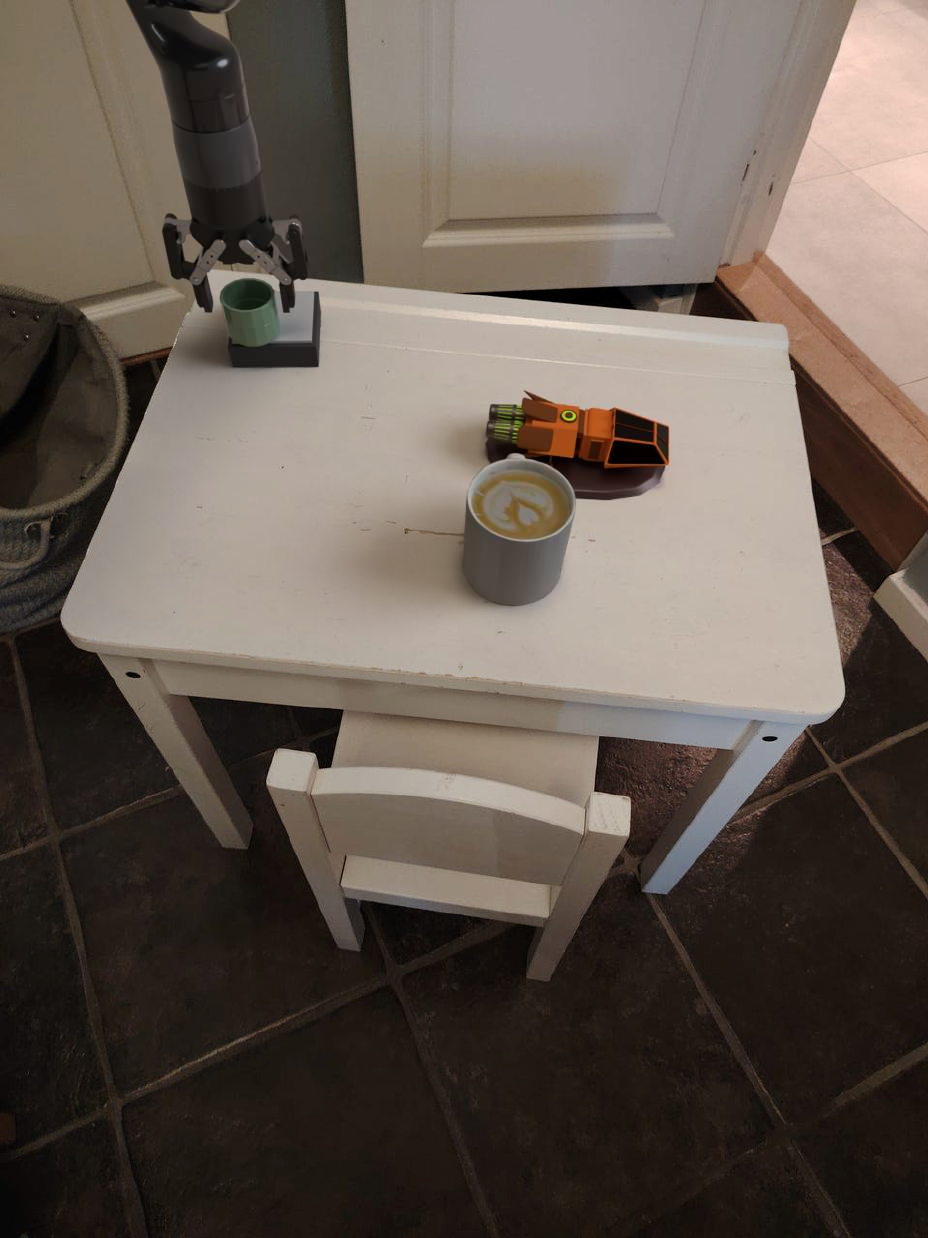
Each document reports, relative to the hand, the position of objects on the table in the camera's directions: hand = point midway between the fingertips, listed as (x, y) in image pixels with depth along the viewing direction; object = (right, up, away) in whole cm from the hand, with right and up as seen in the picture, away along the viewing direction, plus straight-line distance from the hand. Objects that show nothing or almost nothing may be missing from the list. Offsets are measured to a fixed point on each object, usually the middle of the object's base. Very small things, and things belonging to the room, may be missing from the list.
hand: (248, 308), depth 93 cm
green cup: (0, -2, +3) cm, 3 cm away
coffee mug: (+29, -28, -8) cm, 41 cm away
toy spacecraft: (+36, -17, -1) cm, 40 cm away
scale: (+2, -1, +7) cm, 8 cm away
